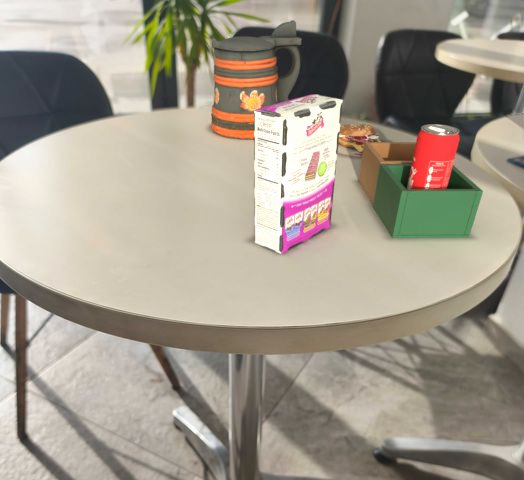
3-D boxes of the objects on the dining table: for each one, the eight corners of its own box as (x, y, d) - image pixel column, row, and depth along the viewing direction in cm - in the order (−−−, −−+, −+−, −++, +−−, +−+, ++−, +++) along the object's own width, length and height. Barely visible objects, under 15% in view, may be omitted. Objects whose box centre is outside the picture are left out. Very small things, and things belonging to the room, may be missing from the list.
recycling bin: (440, 209, 75) (452, 163, 71) (468, 240, 67) (483, 191, 63) (372, 209, 74) (380, 163, 70) (391, 241, 66) (401, 191, 62)
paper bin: (416, 184, 83) (426, 142, 79) (437, 207, 76) (449, 162, 71) (358, 184, 83) (364, 141, 79) (372, 208, 75) (380, 162, 71)
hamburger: (309, 147, 98) (311, 115, 95) (352, 135, 106) (356, 105, 102) (366, 165, 91) (371, 130, 87) (408, 150, 98) (415, 118, 95)
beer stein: (280, 118, 116) (284, 16, 104) (308, 135, 106) (317, 23, 93) (202, 124, 110) (197, 16, 98) (224, 142, 100) (222, 24, 87)
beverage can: (424, 229, 67) (446, 137, 60) (393, 217, 70) (411, 127, 63) (445, 220, 70) (469, 130, 63) (414, 208, 73) (434, 121, 66)
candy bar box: (302, 218, 71) (312, 92, 61) (331, 228, 69) (346, 99, 59) (250, 243, 64) (252, 106, 54) (280, 256, 62) (287, 115, 52)
